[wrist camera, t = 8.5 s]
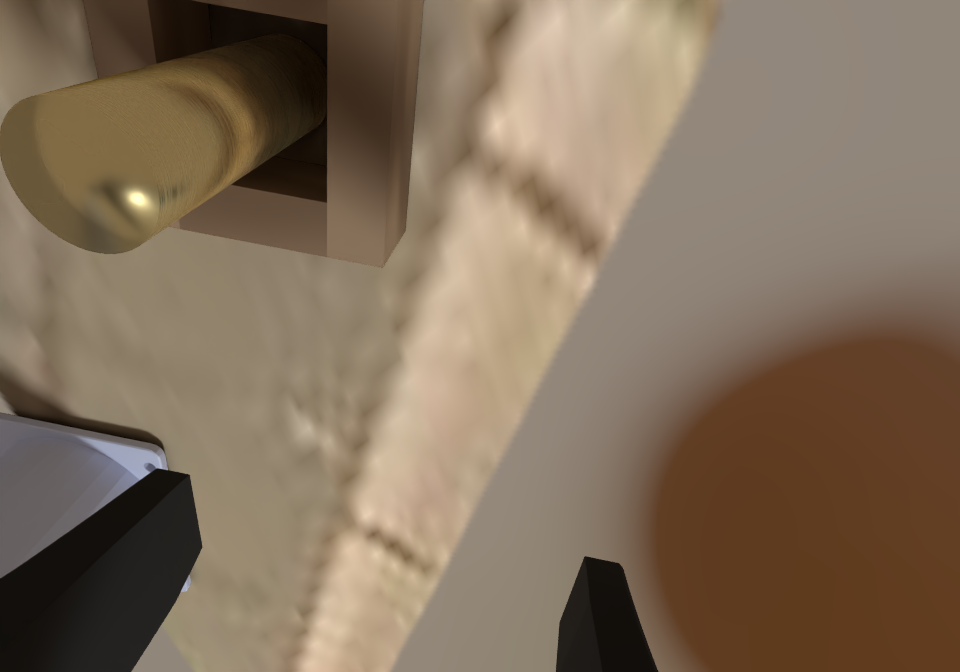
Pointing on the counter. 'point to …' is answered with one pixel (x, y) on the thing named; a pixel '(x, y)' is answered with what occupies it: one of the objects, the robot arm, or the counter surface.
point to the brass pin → (158, 138)
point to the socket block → (350, 122)
